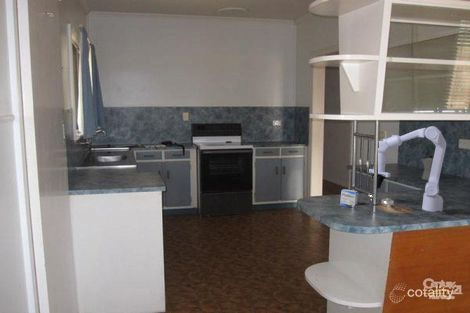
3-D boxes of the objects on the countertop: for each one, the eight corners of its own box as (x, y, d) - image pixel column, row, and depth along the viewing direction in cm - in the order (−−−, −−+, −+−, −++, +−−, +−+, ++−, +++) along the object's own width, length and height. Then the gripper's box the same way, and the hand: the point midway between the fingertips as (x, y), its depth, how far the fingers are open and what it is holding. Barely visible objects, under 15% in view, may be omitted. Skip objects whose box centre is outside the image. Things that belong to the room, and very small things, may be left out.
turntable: (394, 205, 219) (394, 203, 219) (421, 214, 203) (421, 211, 203) (368, 208, 212) (368, 205, 212) (394, 217, 196) (394, 214, 195)
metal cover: (387, 204, 216) (388, 196, 215) (395, 207, 210) (396, 199, 210) (378, 205, 213) (379, 197, 213) (387, 207, 208) (387, 200, 207)
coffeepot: (419, 179, 302) (421, 155, 299) (418, 177, 311) (420, 154, 308) (442, 181, 297) (444, 157, 294) (440, 179, 305) (443, 155, 303)
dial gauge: (371, 206, 215) (372, 193, 214) (376, 208, 212) (377, 195, 211) (365, 207, 214) (366, 194, 213) (370, 209, 210) (372, 195, 209)
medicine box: (339, 205, 215) (341, 190, 213) (342, 204, 218) (343, 188, 217) (354, 208, 210) (355, 192, 209) (357, 206, 214) (358, 190, 213)
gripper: (364, 161, 221) (362, 185, 223) (383, 165, 208) (381, 191, 210) (374, 161, 224) (372, 185, 226) (394, 165, 211) (391, 190, 213)
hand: (377, 188), depth 218 cm, fingers closed
